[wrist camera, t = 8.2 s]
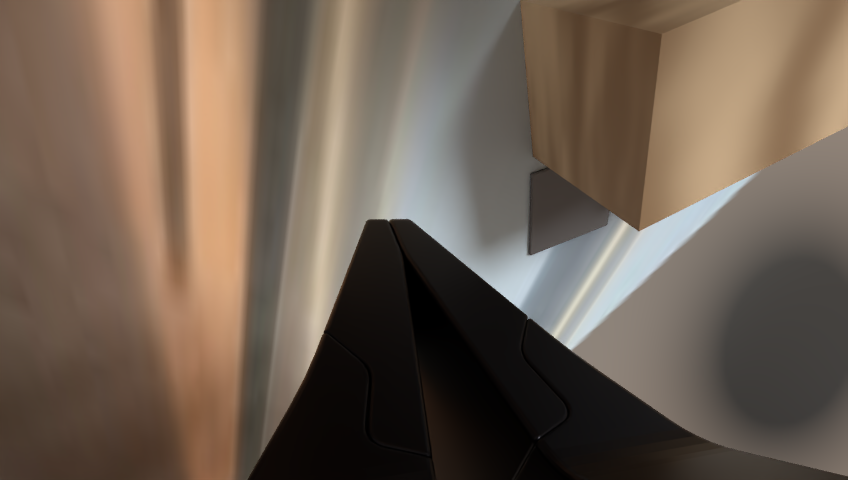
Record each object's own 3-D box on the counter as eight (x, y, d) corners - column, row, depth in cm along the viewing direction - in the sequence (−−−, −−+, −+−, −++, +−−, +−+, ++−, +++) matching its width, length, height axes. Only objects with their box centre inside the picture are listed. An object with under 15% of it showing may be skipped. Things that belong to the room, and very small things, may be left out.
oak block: (531, 155, 24) (638, 231, 18) (518, -1, 19) (662, 34, 13) (730, 66, 26) (884, 107, 20) (766, -96, 21) (987, -104, 15)
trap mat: (529, 253, 29) (530, 255, 28) (530, 174, 25) (532, 175, 25) (604, 223, 30) (607, 224, 30) (617, 143, 26) (619, 144, 26)
